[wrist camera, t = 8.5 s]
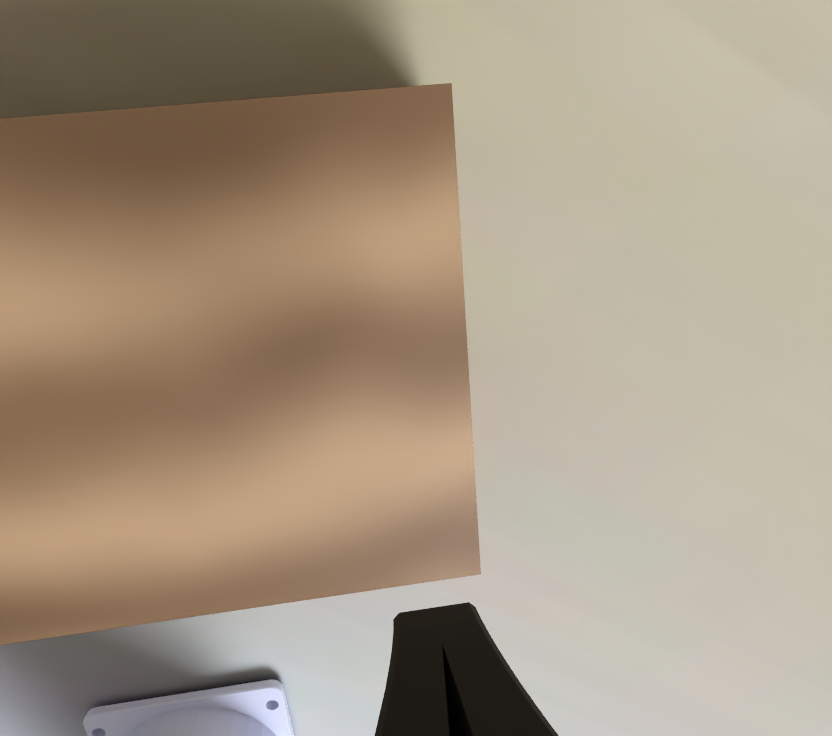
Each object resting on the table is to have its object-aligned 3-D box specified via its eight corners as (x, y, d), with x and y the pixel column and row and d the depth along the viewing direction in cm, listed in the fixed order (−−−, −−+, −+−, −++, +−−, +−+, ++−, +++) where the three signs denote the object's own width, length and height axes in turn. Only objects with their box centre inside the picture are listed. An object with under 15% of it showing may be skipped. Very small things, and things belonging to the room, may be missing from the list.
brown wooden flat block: (458, 504, 20) (480, 573, 17) (31, 563, 19) (-49, 652, 15) (429, 111, 16) (451, 83, 12) (-127, 156, 15) (-294, 141, 11)
